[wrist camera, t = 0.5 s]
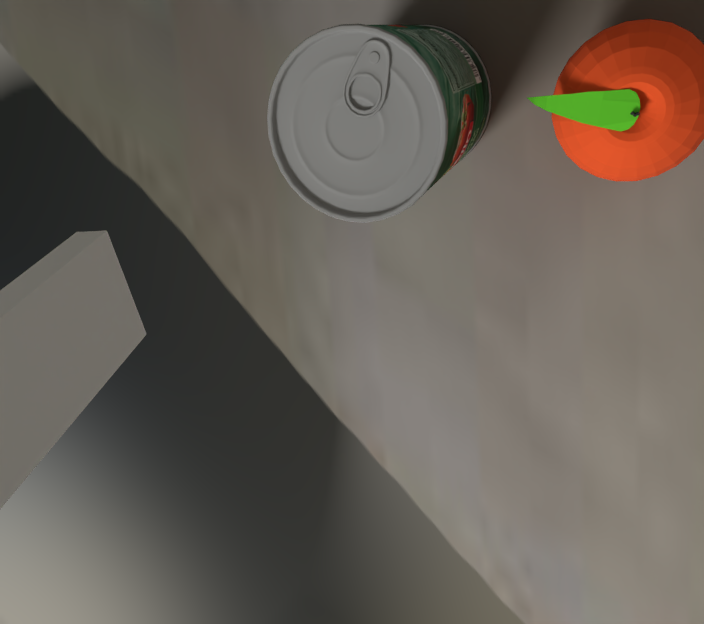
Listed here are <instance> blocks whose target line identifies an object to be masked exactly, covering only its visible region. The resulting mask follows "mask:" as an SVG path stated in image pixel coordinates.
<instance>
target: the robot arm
mask: <svg viewBox="0 0 704 624" xmlns="http://www.w3.org/2000/svg"><path fill="white" fill-rule="evenodd" d="M145 335H146V332H145V329H144V327H143V324H142V322H141V319H140V316H139V314H138V311H137V308H136V306H135V303H134V301H133V298H132V295H131V293H130V290H129V287H128V285H127V282H126V280H125V277H124V274H123V272H122V269H121V267H120V264H119V261H118V259H117V256H116V254H115V251H114V248H113V246H112V243H111V241H110V238H109V235H108V233H107V231H91V232H76V233H75V234H74V235H72V236H71V237H70V238H68V239H67V240H66V241H65V242H63V243H62V244H61V245H59V246H58V247H57V248H55V249H54V250H53V251H52V252H50V253H49V254H48V255H46V256H45V257H44V258H42V259H41V260H40V261H38V262H37V263H36V264H35V265H33V266H32V267H31V268H29V269H28V270H27V271H25V272H24V273H23V274H22V275H20V276H19V277H18V278H16V279H15V280H14V281H12V282H11V283H10V284H8V285H7V286H6V287H4V288H3V289H2V290H1V291H0V509H1V508H2V507H3V505H4V504H5V503H6V502H7V501H8V499H9V498H10V497H11V496H12V495H13V493H14V492H15V491H16V490H17V488H18V487H19V486H20V485H21V484H22V483H23V481H24V480H25V479H26V478H27V477H28V475H29V474H30V473H31V472H32V471H33V469H34V468H35V467H36V466H37V465H38V463H39V462H40V461H41V460H42V459H43V457H44V456H45V455H46V454H47V453H48V451H49V450H50V449H51V448H52V446H53V445H54V444H55V443H56V442H57V441H58V439H59V438H60V437H61V436H62V435H63V433H64V432H65V431H66V430H67V429H68V427H69V426H70V425H71V424H72V423H73V421H74V420H75V419H76V418H77V417H78V415H79V414H80V413H81V412H82V411H83V409H84V408H85V407H86V406H87V405H88V404H89V402H90V401H91V400H92V399H93V398H94V396H95V395H96V394H97V393H98V392H99V390H100V389H101V388H102V387H103V385H104V384H105V383H106V382H107V381H108V379H109V378H110V377H111V376H112V375H113V374H114V372H115V371H116V370H117V369H118V368H119V366H120V365H121V364H122V363H123V361H124V360H125V359H126V358H127V357H128V356H129V354H130V353H131V352H132V351H133V349H134V348H135V347H136V346H137V345H138V344H139V342H140V341H141V340H142V339H143V338H144V336H145Z"/></svg>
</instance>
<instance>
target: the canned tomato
mask: <svg viewBox="0 0 704 624" xmlns="http://www.w3.org/2000/svg"><path fill="white" fill-rule="evenodd" d="M490 110H491V87H490V80H489V77H488V74H487V71H486V68H485V65H484V64H483V62H482V60H481V58H480V57H479V55H478V53H477V52H476V51H475V50H474V49H473V47H472V46H471V45H470V44H469V43H468V42H467V41H466V40H464V39H463V38H462V37H460V36H459V35H457V34H456V33H454V32H452V31H450V30H447V29H445V28H443V27H438V26H433V25H363V24H343V25H338V26H334V27H331V28H327V29H323V30H321V31H319V32H318V33H316V34H314V35H312V36H310V37H308V38H307V39H305V40H304V41H303V42H302V43H301V44H300V45H298V46H297V47H296V48H295V49H294V50H293V51H292V52H291V53H290V55H289V56H288V57H287V59H286V60H285V61H284V63H283V64H282V66H281V67H280V70H279V72H278V74H277V76H276V78H275V80H274V82H273V86H272V90H271V94H270V97H269V103H268V116H267V122H268V133H269V140H270V143H271V147H272V151H273V155H274V157H275V159H276V162H277V164H278V166H279V168H280V171H281V172H282V174H283V176H284V177H285V179H286V180H287V182H288V183H289V185H290V186H291V187H292V188H293V189H294V190H295V191H296V193H297V194H298V195H299V196H300V197H301V198H302V199H303V200H304V201H306V202H307V203H308V204H310V205H311V206H313V207H314V208H315V209H317V210H319V211H321V212H323V213H325V214H327V215H329V216H331V217H334V218H337V219H341V220H344V221H349V222H363V223H365V222H372V221H380V220H383V219H386V218H389V217H392V216H394V215H397V214H399V213H401V212H402V211H404V210H405V209H407V208H409V207H410V206H412V205H413V204H414V203H415V202H416V201H417V200H418V199H419V198H420V197H421V196H422V195H424V194H425V192H426V191H427V190H428V189H429V188H431V187H432V186H433V185H434V184H435V183H436V182H437V181H438V180H439V179H440V178H441V177H443V176H444V175H445V174H446V173H447V172H448V171H449V170H450V169H451V168H452V167H454V166H455V165H456V164H457V163H458V162H459V161H460V160H462V159H463V158H464V157H465V156H466V155H467V154H468V153H469V152H471V151H472V150H473V148H474V147H475V145H476V144H477V143H478V141H479V140H480V138H481V137H482V134H483V132H484V130H485V128H486V126H487V123H488V119H489V115H490Z"/></svg>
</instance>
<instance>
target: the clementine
mask: <svg viewBox="0 0 704 624" xmlns="http://www.w3.org/2000/svg"><path fill="white" fill-rule="evenodd" d="M528 99H529V100H530V101H531V102H532V103H533V104H535V105H537V106H539V107H541V108H542V109H544V110H546V111H549V112H552V121H553V125H554V130H555V134H556V137H557V139H558V141H559V142H560V144H561V146H562V148H563V149H564V151H565V153H566V155H567V156H568V157H569V158H570V159H571V160H572V161H573V162H575V163H576V164H577V165H578V166H579V167H580V168H581V169H583V170H585V171H587V172H589V173H591V174H593V175H594V176H596V177H600V178H604V179H609V180H613V181H638V180H642V179H646V178H650V177H654V176H658V175H660V174H661V173H663V172H665V171H667V170H669V169H671V168H673V167H675V166H677V165H678V164H680V163H681V162H682V161H683V160H684V159H685V158H687V157H688V156H689V155H690V154H691V153H693V152H694V151H695V150H696V148H697V147H698V146H699V144H700V143H701V142H702V140H703V139H704V44H703V43H702V42H701V41H700V40H699V39H698V38H697V37H696V36H695V35H694V34H693V33H692V32H690V31H688V30H686V29H684V28H682V27H680V26H678V25H676V24H674V23H671V22H665V21H659V20H653V19H644V20H634V21H626V22H623V23H620V24H618V25H615V26H612V27H610V28H607V29H604V30H603V31H601V32H600V33H598V34H597V35H595V36H594V37H592V38H591V39H589V40H588V41H586V42H585V43H584V44H583V45H582V46H581V47H580V48H579V49H578V50H577V51H576V52H575V53H574V54H573V56H572V57H571V58H570V59H569V60H568V62H567V64H566V65H565V67H564V69H563V71H562V72H561V74H560V76H559V78H558V80H557V84H556V87H555V91H554V94H553V95H551V96H541V97H530V98H528Z"/></svg>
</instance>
